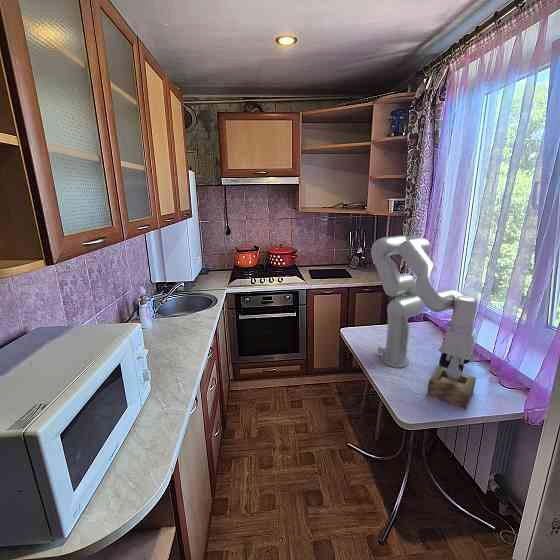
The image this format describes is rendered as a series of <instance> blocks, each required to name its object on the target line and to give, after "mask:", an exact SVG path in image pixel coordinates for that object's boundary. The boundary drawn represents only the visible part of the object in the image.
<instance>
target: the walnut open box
mask: <svg viewBox="0 0 560 560" xmlns="http://www.w3.org/2000/svg"><path fill="white" fill-rule="evenodd" d="M476 380H477V377H475V376H472V375H470V374H469V375H468V374H466V373H462V376H461V377H460V378H459V379H458V380H451V379H449V378H448V377H447V374H446V368H444V367H441V366H439V365H438V366H437V367H436V369H435V370H434V372H433V374H432V375H431V377H430V378H429V380H428V384H427V391H426V395H427V396H428V397H430V398H434V399H436V400H439V401H440V402H441V401H442V402H444V403H447V404H450V405H452V406H454V407H458V408H459V409H462V410H465V411H466V410H467V408H468V406H469V404H470V401H471V399H472V396H473V394H474V391H475V385H476Z"/></svg>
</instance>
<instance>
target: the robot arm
mask: <svg viewBox="0 0 560 560" xmlns="http://www.w3.org/2000/svg"><path fill="white" fill-rule="evenodd" d="M431 251H432V245H431V243H430V241H428V239H426V238H423V237H419V236H418V237H416V236H408V235H395V236H386V237H384V236H383V237H381V238H379V239H376V240H375V241H374V242H373V244H372V245H371V250H370V255H371V259H372V261H373V264H374V265H375V268H376V270H377V272H378V276H379V279H380V281H381V285H382V287H383V291H384V292H385V295H387V296H388V297H397V298H396V299H392V300H391V301H390V302H389V303H388V304H387V307H386V310H387V312H386V313H387V333H386V341H385V348H384V347H381V346H378V347H377V353H379V354H382V355H381V356H380V358H381V360H380V361H382V363H384V364H385V365H386V366H389V367H392V368H398V369H401V368H407V367H408V366H409V365H410V359H409V358H408V357H407V353H408V344H409V337H410V323H409V321H408V319H409V318H411V317H415V316H418V315H420V314H422V313H423V311H424V310H425V307H427V309H428V310H430V311H431V312H434V313H442V312H445V311H448V310H449V311H451V310H452V312H451V319H450V321H446V324H445V325H446V326H449V327H448V328H447V329H446V331H445V333H444V336H443V338H444V341H443V340H442V343H443V345H442V344H441V346H440V347H439V348H438V351H439V352H440V354H441V353H442V354H443V355H444V356H445V358H446V360H447V363H446V367H447V366H449V364H450V359H451V356H454V357H457V358H460V365H459V371H460V367H461V372H463V371H464V369H463V367H465V365H466V364H469V363H475V362H476V361H477V359H476V356H475V353H474V349H475V333H474V332H473V329H474V324H475V319H476V313H477V308H478V300H477V299H476V298H475V297H473V296H470V295H465V294H462V293H461V292H460V291H459V292H458V291H457V290H454V289H446V290H442V291H441V290H440V291H436V289H435V288H434V286H433V285H432V282H431V279H430V278H431V277H430V276H431V274H432V273H433V272H434V270H435V269H436V267H435V263H434V262H433V261H432V260H431V258H430V257H429V254H430V253H431ZM394 255H400V256H401V257H402V259H403V260H404V262H405V263H406V265H407V266H408V268H409V269H410V271H411V272H412V273H413V275H414V276H412V274H409V273H400V272H399V269H398V266H397V264H396V263H395V262H394V260H393V259H392V258H390V256H394ZM414 277H415V278H414ZM400 295H402V297H398V296H400ZM447 368H448V367H447Z"/></svg>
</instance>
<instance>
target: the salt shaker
mask: <svg viewBox="0 0 560 560" xmlns="http://www.w3.org/2000/svg"><path fill="white" fill-rule="evenodd" d="M459 365H460V358H457V357H454V356H451V359H450V364H449V366H447V367H448V368H446V374H447V377H448V378H449V379H451V380H458V379H459V378H460V377H461V376H462V372H463V371H462V372H461V367H460V371H459Z"/></svg>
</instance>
